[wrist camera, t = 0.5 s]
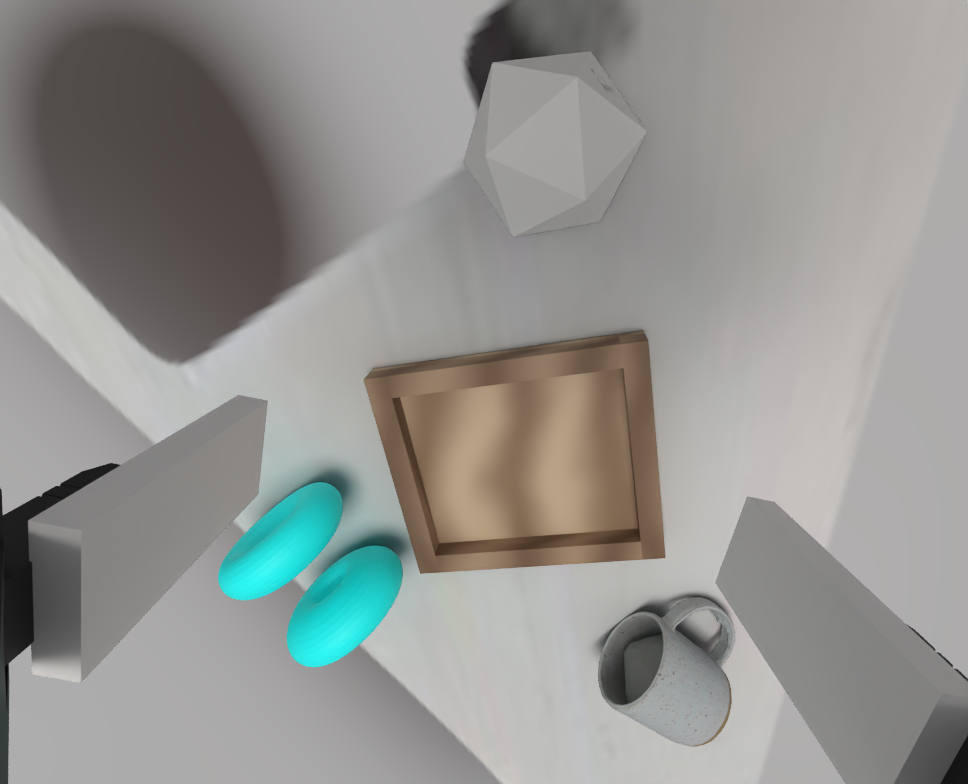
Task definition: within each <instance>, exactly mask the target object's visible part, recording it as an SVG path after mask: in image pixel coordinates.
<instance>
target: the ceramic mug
mask: <svg viewBox="0 0 968 784" xmlns="http://www.w3.org/2000/svg"><path fill="white" fill-rule="evenodd" d="M701 610H702V611H703V610H710V611H711V612H712V613H713V614H714V616H715V617H716V619H717V622H718V623H720V624H721V625H722V630H721V635H720V637H719V641H718V643H717V644H716V646H715V648H714V649H713V651H712V652H711V653H710V654H707V653H706V652H705V651H704V650H702V649H701V648H700V647H698V646H696V645H695V644H694V643H692V642H691V641H690V640H689V639H687V638H686V637H685V636H684V635H683V634H681V633H680V632H679V631H677V630H676V629H675V628H676V626H677V625H678V624H679V623H680V622H682V621H683V620H684V619H686V618H687V617H688V616H690V615H691V614H693V613H695V612H697V611H701ZM734 643H735V629H734V625H733V623H732V621H731V619H730V617H729V616H728V615H727V614H726V612H724V611H723V610H722V609H721V608H720V607H719V606H717V605H716V604H715V603H714V602H712V601H710V600H708V599H706V598H702V597H695V598H688V599H686V600H683V601H681V602H680V603H678V604H677V605H676V606H674V607H673V608H672V609H671V610H670V611H668V612H667V614H666V615H665V616H664V617H662V618H660V617H659V616H657V615H656V614H654V613H650V612H645V611H644V612H637V613H634V614H631V615H630V616H628V617H626V618H625V619H624V620H622V621H621V622H620V623H619V624H618V625H617V626H616V627H615V628H614V630H613V631H612V632H611V634H610V635H609V637H608V639H607V641H606V643H605V645H604V647H603V650H602V653H601V657H600V661H599V669H598V681H599V687H600V690H601V693H602V696H603V698H604V699H605V700H606V702H607V703H608V704H609V705H610V706H611V707H612V708H613V709H615V710H617V711H619V712H621V713H622V714H624V715H626V716H628V717H630V718H632V719H634V720H635V721H637V722H639V723H641V724H642V725H644V726H646V727H648V728H650V729H651V730H653V731H655V732H657V733H658V734H660V735H662V736H663V737H665V738H667V739H669V740H671V741H673V742H676V743H679V744H683V745H686V746H700V745H704V744H707V743H709V742H710V741H712V740H713V739H714V738H715V737H716V736H717V735H718V734H719V733H720V732H721V731H722V729H723V728H724V726H725V724H726V722H727V720H728V717H729V713H730V708H731V703H732V700H731V688H730V684H729V680H728V678H727V676H726V674H725V673H724V671H723V670H722V667H721V666H722V665H723V664H724V663H725V661H726V660H727V659H728V657H729V655H730V653H731V652H732V649H733V646H734Z"/></svg>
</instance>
